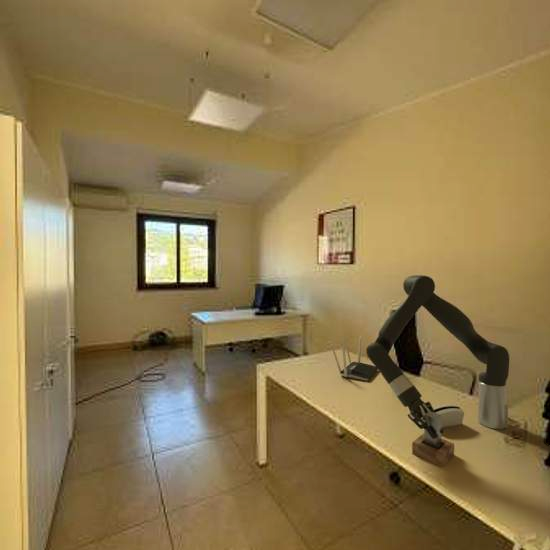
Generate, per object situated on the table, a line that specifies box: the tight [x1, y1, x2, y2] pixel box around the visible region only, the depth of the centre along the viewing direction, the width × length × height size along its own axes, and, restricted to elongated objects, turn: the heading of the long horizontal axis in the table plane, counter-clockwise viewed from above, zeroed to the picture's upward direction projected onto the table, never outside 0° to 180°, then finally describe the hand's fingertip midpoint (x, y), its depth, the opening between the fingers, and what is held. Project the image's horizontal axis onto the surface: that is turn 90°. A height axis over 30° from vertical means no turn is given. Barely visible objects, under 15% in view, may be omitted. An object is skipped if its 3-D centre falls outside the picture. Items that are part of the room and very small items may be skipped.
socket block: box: [411, 432, 455, 468], centre depth 110 cm, size 10×10×4 cm
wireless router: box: [330, 334, 379, 381], centre depth 195 cm, size 34×23×20 cm
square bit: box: [423, 411, 442, 450], centre depth 110 cm, size 4×4×12 cm
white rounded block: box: [424, 403, 465, 429], centre depth 130 cm, size 17×5×10 cm, turn 104°
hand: (438, 435), depth 109 cm, fingers closed on square bit, 4 cm apart
